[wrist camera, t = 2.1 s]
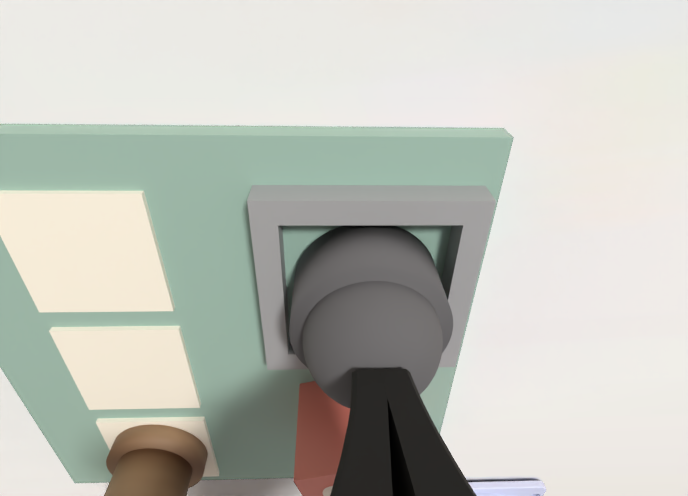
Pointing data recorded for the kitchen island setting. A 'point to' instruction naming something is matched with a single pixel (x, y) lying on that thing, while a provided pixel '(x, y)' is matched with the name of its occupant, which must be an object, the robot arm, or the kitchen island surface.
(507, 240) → the kitchen island surface
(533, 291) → the kitchen island surface
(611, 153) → the kitchen island surface
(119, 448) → the flanged wooden peg
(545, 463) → the kitchen island surface
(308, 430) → the die
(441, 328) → the dark gray round knob
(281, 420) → the board
